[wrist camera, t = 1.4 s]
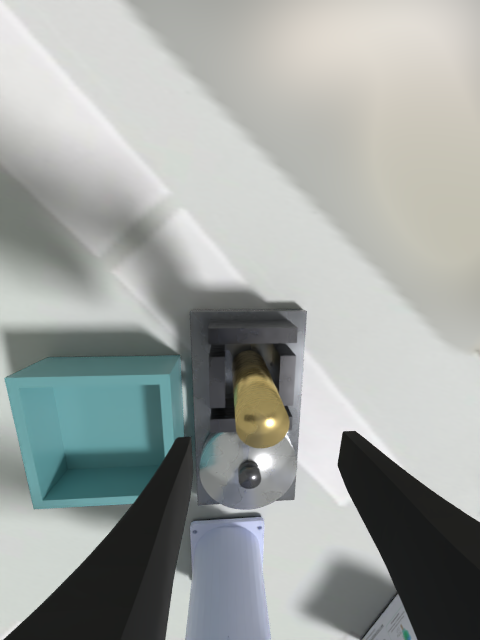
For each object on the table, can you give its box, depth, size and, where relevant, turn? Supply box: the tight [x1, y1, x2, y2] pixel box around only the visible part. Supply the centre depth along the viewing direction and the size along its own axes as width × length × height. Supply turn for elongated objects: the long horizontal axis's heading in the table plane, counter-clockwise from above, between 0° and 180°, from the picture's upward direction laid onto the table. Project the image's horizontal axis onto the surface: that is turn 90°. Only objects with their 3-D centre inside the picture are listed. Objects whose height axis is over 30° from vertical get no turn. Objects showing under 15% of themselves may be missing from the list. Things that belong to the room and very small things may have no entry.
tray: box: [5, 355, 184, 509], centre depth 20 cm, size 12×12×4 cm
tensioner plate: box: [190, 309, 307, 509], centre depth 20 cm, size 20×10×4 cm, turn 0°
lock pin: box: [232, 351, 289, 448], centre depth 16 cm, size 3×3×8 cm
